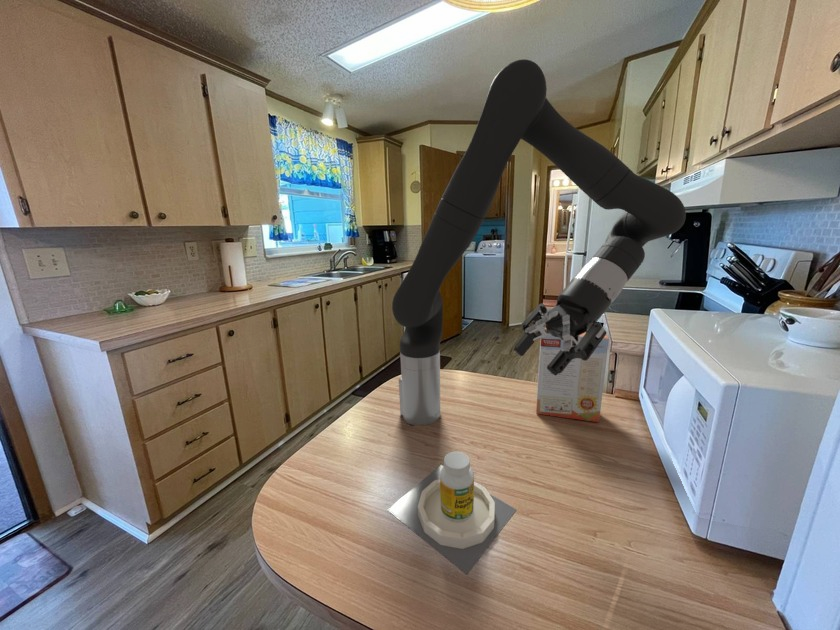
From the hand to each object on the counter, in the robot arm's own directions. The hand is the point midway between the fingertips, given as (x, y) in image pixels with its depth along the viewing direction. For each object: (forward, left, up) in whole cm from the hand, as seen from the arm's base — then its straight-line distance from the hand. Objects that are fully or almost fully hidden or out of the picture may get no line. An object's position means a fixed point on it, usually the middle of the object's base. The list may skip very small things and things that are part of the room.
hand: (533, 362), depth 58 cm
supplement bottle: (-4, -16, -22) cm, 27 cm away
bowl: (-4, -17, -22) cm, 28 cm away
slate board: (-5, -17, -23) cm, 28 cm away
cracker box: (-2, +25, -23) cm, 34 cm away
